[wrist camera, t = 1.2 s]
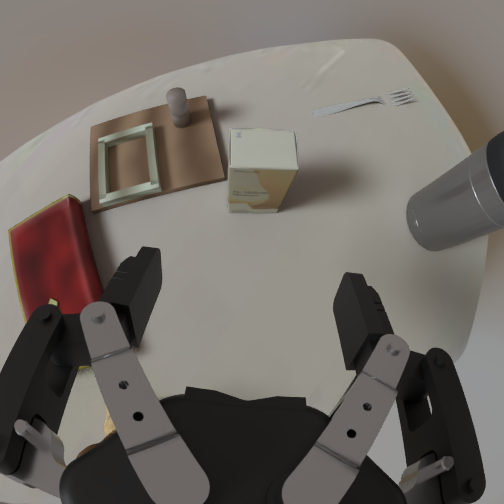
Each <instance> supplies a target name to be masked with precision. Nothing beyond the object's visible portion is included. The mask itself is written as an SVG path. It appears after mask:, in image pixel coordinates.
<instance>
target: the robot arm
mask: <svg viewBox="0 0 504 504" xmlns="http://www.w3.org/2000/svg"><path fill="white" fill-rule="evenodd" d="M407 221H408V226H409V228H410V231H411V233H412V235H413V236H414V238H415V239H416V241H417V242H418V243H419V244H420V245H421V246H422V247H424V248H426V249H428V250H431V251H439V250H442V249H445V248H448V247H451V246H454V245H458V244H460V243H463V242H466V241H469V240H472V239H475V238H477V237H480V236H483V235H486V234H489V233H491V232H494V231H497V230H499V229H502V228H504V131H503V132H501V133H499V134H498V135H497V136H495V137H494V138H492V139H491V140H490V141H489V142H487V143H486V144H485V145H483V146H482V147H481V148H479V149H478V150H477V151H475V152H474V153H473V154H471V155H470V156H469V157H467V158H466V159H464V160H463V161H462V162H460V163H459V164H457V165H456V166H455V167H453V168H452V169H450V170H449V171H447V172H446V173H445V174H443V175H442V176H440V177H439V178H437V179H436V180H435V181H433V182H432V183H430V184H429V185H427V186H426V187H424V188H423V189H421V190H420V191H418V192H417V193H416V194H414V195H413V196H412V197H411V199H410V200H409V203H408V206H407ZM161 285H162V268H161V252H160V249H159V248H152V247H144V246H143V247H142V248H141V249H140V251H139V252H138V254H137V256H136V257H132V256H130V257H128V258H127V259H126V260H124V261H123V262H122V263H121V264H120V266H119V267H118V269H117V270H116V272H115V274H114V275H113V278H112V279H111V280H110V282H109V284H108V285H107V287H106V289H105V291H104V292H103V294H102V296H101V297H100V299H99V301H98V302H93V303H91V304H89V305H87V306H86V307H85V308H84V309H83V310H82V312H81V313H76V314H62V313H61V311H60V309H59V307H58V306H56V305H54V304H44V305H41V306H39V307H38V308H36V309H35V310H34V311H33V313H32V314H31V316H30V318H29V319H28V321H27V323H26V325H25V326H24V328H23V330H22V332H21V333H20V335H19V337H18V339H17V341H16V343H15V344H14V346H13V348H12V350H11V352H10V354H9V356H8V358H7V360H6V362H5V364H4V366H3V368H2V370H1V373H0V473H1V474H2V475H4V476H6V477H8V478H10V479H12V480H14V481H16V482H18V483H22V484H24V485H26V486H28V487H31V488H38V489H40V490H42V491H44V492H47V493H49V494H51V495H53V496H56V497H58V498H61V502H62V504H471V503H473V502H476V501H477V500H478V499H480V497H481V496H482V495H483V493H484V490H485V486H486V480H485V474H484V469H483V463H482V458H481V454H480V450H479V445H478V441H477V437H476V433H475V429H474V425H473V422H472V418H471V415H470V411H469V408H468V405H467V401H466V398H465V395H464V392H463V389H462V386H461V383H460V380H459V377H458V375H457V372H456V369H455V366H454V364H453V361H452V359H451V357H450V356H449V354H448V353H447V352H445V351H444V350H442V349H440V348H431V349H430V350H429V351H428V352H427V353H426V355H424V354H420V353H417V352H413V351H410V349H409V346H408V344H407V343H406V342H405V341H404V340H403V339H402V338H401V337H399V336H397V335H394V332H393V329H392V327H391V324H390V322H389V319H388V316H387V314H386V312H385V309H384V306H383V305H382V301H381V299H380V297H379V294H378V293H377V292H376V291H375V290H374V289H373V288H372V286H367V283H366V281H365V278H364V276H363V274H358V273H349V272H346V273H345V274H344V276H343V278H342V281H341V283H340V286H339V288H338V291H337V293H336V296H335V299H334V303H333V312H334V316H335V320H336V325H337V329H338V334H339V338H340V343H341V348H342V352H343V357H344V362H345V367H346V370H356V376H355V377H354V379H353V380H352V382H351V384H350V385H349V387H348V388H347V390H346V391H345V393H344V394H343V396H342V397H341V399H340V400H339V402H338V403H337V405H336V406H335V408H334V409H333V411H332V412H331V413H330V415H329V416H328V415H326V414H325V413H323V412H321V411H319V410H317V409H315V408H312V407H310V406H306V397H281V396H276V397H270V398H264V399H257V400H250V401H246V400H242V399H239V398H236V397H233V396H230V395H227V394H224V393H221V392H218V391H215V390H207V389H200V388H194V387H187V386H186V391H185V394H180V395H174V396H170V397H167V398H164V399H162V400H158V398H157V397H156V395H155V393H154V391H153V389H152V387H151V385H150V383H149V381H148V379H147V377H146V375H145V373H144V371H143V369H142V367H141V365H140V363H139V361H138V359H137V357H136V354H135V352H134V350H133V348H132V347H130V346H134V347H139V345H140V342H141V339H142V337H143V334H144V331H145V328H146V326H147V323H148V321H149V318H150V315H151V313H152V310H153V308H154V305H155V302H156V300H157V297H158V295H159V292H160V290H161ZM80 366H92V368H93V371H94V374H95V377H96V380H97V383H98V385H99V388H100V391H101V394H102V396H103V399H104V401H105V404H106V407H107V409H108V411H109V414H110V416H111V419H112V421H113V423H114V426H115V428H116V430H117V431H116V432H114V433H113V434H112V435H110V436H109V437H107V438H106V439H104V440H103V441H102V442H100V443H99V444H97V445H96V446H94V447H93V448H91V449H90V450H89V451H87V452H86V453H84V454H83V455H81V456H80V457H78V458H77V459H75V460H74V461H72V462H71V463H70V464H69V465H68V466H67V467H66V465H65V462H64V446H63V443H62V441H61V439H60V438H59V436H57V433H58V430H59V426H60V423H61V420H62V416H63V413H64V410H65V407H66V404H67V401H68V398H69V395H70V392H71V389H72V386H73V383H74V380H75V377H76V375H77V372H78V369H79V367H80ZM428 395H429V398H430V402H431V406H432V415H431V412H430V408H429V404H428V400H427V396H428ZM395 399H396V403H397V408H398V413H399V419H400V424H401V430H402V436H403V442H404V449H405V456H406V464H407V468H406V469H405V470H404V472H403V474H402V477H401V481H400V482H399V486H398V485H397V484H396V483H395V482H394V481H393V480H392V479H391V478H390V477H389V476H388V475H387V474H386V473H385V472H383V471H382V469H380V467H378V466H377V465H376V464H375V463H374V462H373V461H372V460H371V459H370V458H369V457H368V456H367V453H368V451H369V449H370V448H371V446H372V444H373V442H374V440H375V439H376V437H377V435H378V433H379V431H380V429H381V427H382V425H383V423H384V421H385V419H386V417H387V415H388V413H389V411H390V409H391V407H392V405H393V403H394V400H395Z"/></svg>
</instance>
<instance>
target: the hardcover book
mask: <svg viewBox="0 0 504 504" xmlns="http://www.w3.org/2000/svg"><path fill="white" fill-rule="evenodd" d="M8 233H9V242H10V250H11V257H12V264H13V270H14V276H15V281H16V286H17V291H18V296H19V300H20V305H21V309H22V313H23V317H24V320H25V324H26V323H27V321H28V319H29V318H30V316H31V314H32V313H33V311H34V310H35V309H36V308H38V307H39V306H41V305H44V304H54V305H56V306H58V307H59V309H60V311H61V313H62V314H76V313H81V312H82V310H83V309H84V308H85V307H86V306H87V305H89V304H91V303H93V302H98V301H99V299H100V297H101V296H102V294H103V288H102V285H101V282H100V279H99V275H98V272H97V268H96V265H95V261H94V257H93V253H92V250H91V246H90V242H89V237H88V233H87V229H86V224H85V220H84V215H83V210H82V205H81V202H80V200H79V199H78V198H76V197H75V196H73V195H70V194H68V195H66V196H64V197H62V198H60V199H58V200H57V201H55V202H53V203H51V204H50V205H48V206H46V207H44V208H43V209H41V210H39V211H38V212H36V213H34V214H33V215H31V216H30V217H28V218H26V219H25V220H23V221H22V222H20V223H18V224H17V225H15V226H14V227H12V228H11V229H9V230H8ZM86 367H89V366H80V367H79V369H82V368H86ZM79 369H78V370H79Z"/></svg>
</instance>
